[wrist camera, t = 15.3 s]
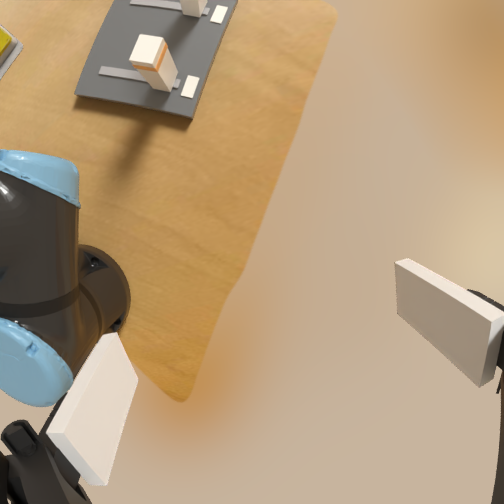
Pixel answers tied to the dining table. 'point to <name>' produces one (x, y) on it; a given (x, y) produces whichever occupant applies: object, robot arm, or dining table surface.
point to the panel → (179, 45)
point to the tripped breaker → (154, 62)
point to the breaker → (193, 7)
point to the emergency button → (8, 50)
